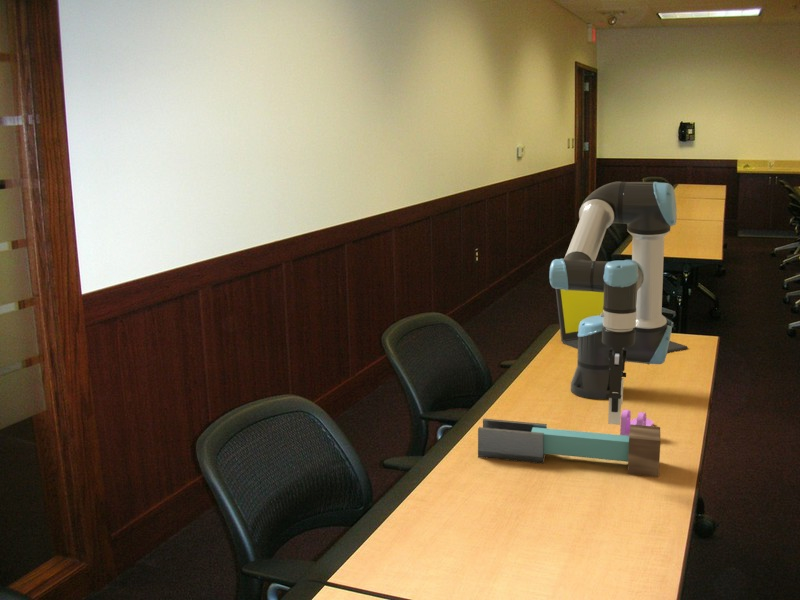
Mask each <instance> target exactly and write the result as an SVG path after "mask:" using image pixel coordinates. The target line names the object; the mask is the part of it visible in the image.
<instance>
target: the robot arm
mask: <svg viewBox="0 0 800 600" xmlns="http://www.w3.org/2000/svg"><path fill="white" fill-rule="evenodd" d="M677 210H678V209H677V199H676V192H675V189H674V187H673V185H672V184H671V183H668V182H658V181H613V182H610V183H606V184H604V185H602V186H600V187H598V188H597V189H595V190H594V191H592V192H591V193H590V194H589V195H588V196H587V197H586V198H585V199H584V200H583V202H582V204H581V206H580V208H579V211H578V218H579V221H578V223H577V226H576V228H575V231H574V233H573V235H572V238H571V240H570V243H569V246H568V249H567V251H566V253H565V256H564V258H555V259H553V260H552V261H551V263H550V266H549V283H550V286H551V288H553V289H555V290H556V289H563V290H575V291H593V292H604V303H603V313H601V314H600V315H598V316H592V317H588V318H585V319H583V320H582V321H581V322H580V323H579V330H578V349H577V364H576V368H575V371H574V374H573V376H572V379H571V382H570V392H572V393H573V395H576V396H578V397H581V398H585V399H590V400H591V399H592V400H608V420H607V421H608V422H607V424H608V425H619V426H621V414H622V405H623V401H624V399H623V397H624V378H627V372H625V368H626V367H625V365H626V364H625V363H636V364H643V365H644V364H645V365H648V366H649V365H662V364H664V363H665V362H666V359H667V354H668V353H667V351H668V346H669V341H671V336H672V328H673V327H672V326H671V325H669V324H667V322H668V320H667V318H666V317H665V316H664V315H663V314H662V313H663V312H662V311H663V309H662V308H663V307H662V306H663V284H664V255H665V237H666V236H667V235H668V234H669V233H670V232H671V227H673V226H675V225H676V224H677ZM612 224H621V225H622V224H623V225H626V227H627V228H626V230H627V232H628V233H629V234H630V235H631V236H632V243H631V244H632V249H631V251H632V252H631V259H624V260H611V261H601V260H600V261H599V260H596V259H597V257H598V254H599V251H600V248H601V246H602V242H603V239H604V238H605V234H606V232H607V229H608V228H610V226H612Z"/></svg>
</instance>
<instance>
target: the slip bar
mask: <svg viewBox="0 0 800 600" xmlns="http://www.w3.org/2000/svg"><path fill="white" fill-rule="evenodd" d="M531 432H537V433H544V450H543V453H544V454H546V455H556V456H565V457H575V458H576V457H577V458H587V459H594V460H595V459H598V460H606V461H615V462H616V461H617V462H627V463H628V453H629V436H625V435H620V434H612V433H604V432H603V433H601V432H591V431H590V432H588V431H581V430H580V431H579V430H578V431H577V430H568V429H557V428H556V429H555V428H548V427H547V428H536V427H533V428H532V431H531Z"/></svg>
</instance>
